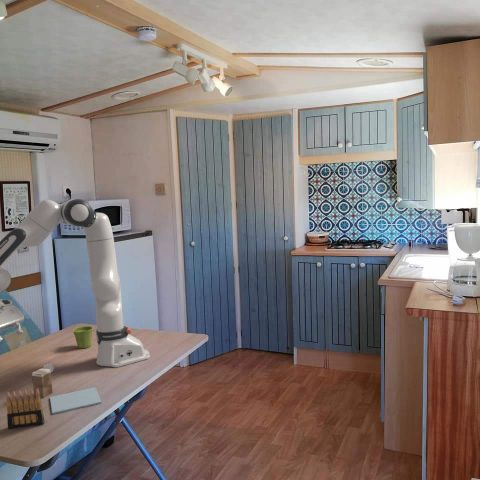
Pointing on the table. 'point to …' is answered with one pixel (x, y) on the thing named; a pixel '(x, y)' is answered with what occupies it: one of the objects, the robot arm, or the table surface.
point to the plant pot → (83, 336)
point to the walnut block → (42, 382)
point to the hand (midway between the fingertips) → (11, 337)
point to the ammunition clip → (21, 416)
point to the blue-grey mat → (74, 400)
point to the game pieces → (49, 367)
